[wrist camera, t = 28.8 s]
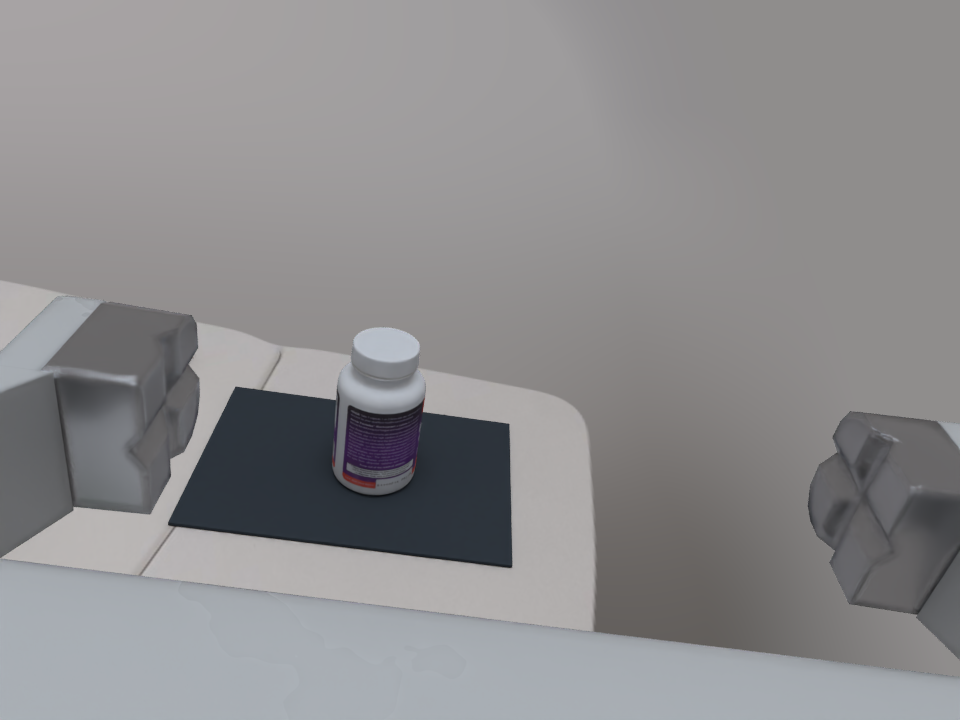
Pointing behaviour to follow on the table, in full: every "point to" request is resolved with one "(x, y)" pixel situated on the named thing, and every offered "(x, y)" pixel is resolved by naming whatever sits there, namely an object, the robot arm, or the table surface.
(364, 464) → the pill bottle
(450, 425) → the mat
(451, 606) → the table surface
